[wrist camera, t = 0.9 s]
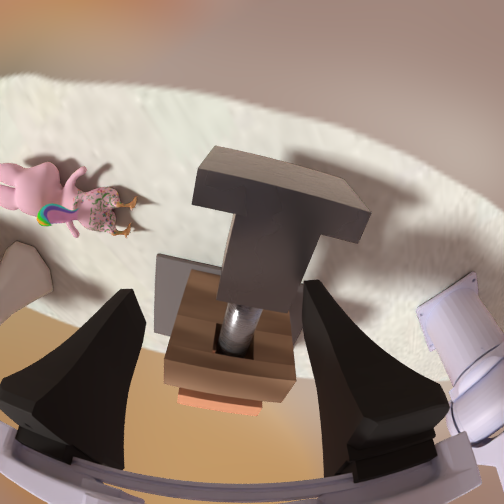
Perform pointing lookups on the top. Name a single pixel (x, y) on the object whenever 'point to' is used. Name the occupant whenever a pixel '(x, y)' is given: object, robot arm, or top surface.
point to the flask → (22, 279)
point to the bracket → (221, 366)
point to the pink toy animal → (59, 198)
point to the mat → (173, 285)
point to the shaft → (270, 232)
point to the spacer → (219, 402)
